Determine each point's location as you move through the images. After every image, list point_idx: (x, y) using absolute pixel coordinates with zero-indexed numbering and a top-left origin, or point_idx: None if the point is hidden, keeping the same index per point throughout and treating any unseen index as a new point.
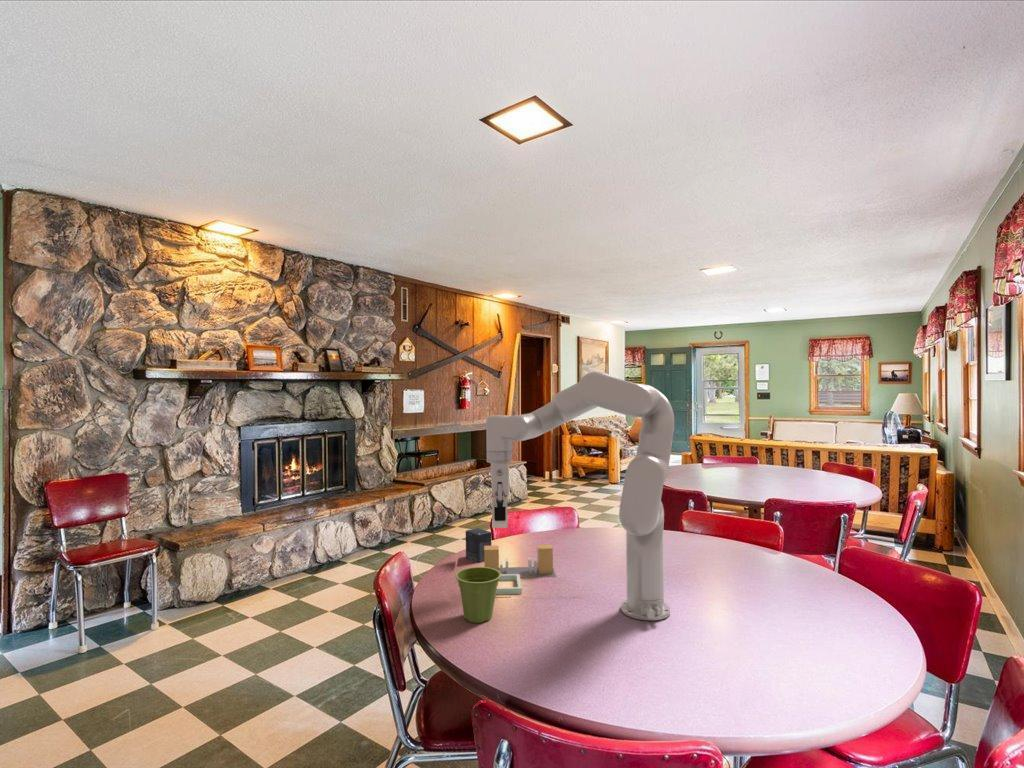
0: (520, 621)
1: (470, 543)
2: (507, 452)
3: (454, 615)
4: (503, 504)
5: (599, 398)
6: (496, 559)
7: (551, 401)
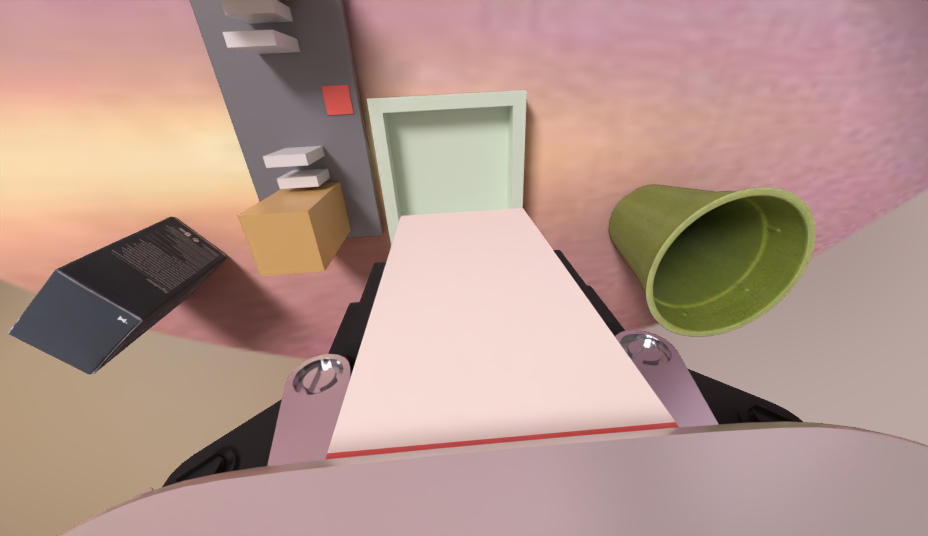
0: (703, 97)
1: (151, 323)
2: None
3: (615, 274)
4: (674, 369)
5: None
6: (324, 207)
7: None
